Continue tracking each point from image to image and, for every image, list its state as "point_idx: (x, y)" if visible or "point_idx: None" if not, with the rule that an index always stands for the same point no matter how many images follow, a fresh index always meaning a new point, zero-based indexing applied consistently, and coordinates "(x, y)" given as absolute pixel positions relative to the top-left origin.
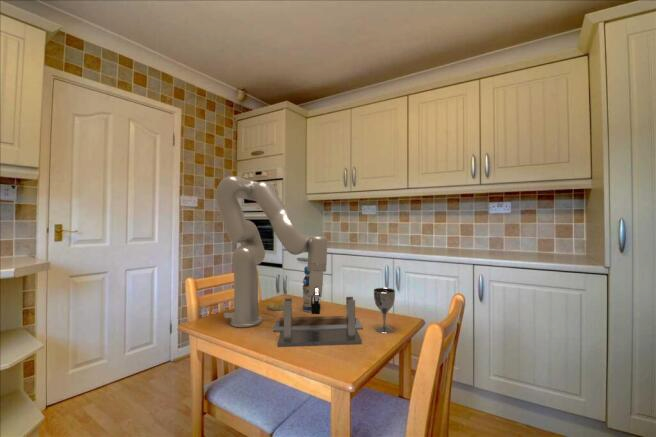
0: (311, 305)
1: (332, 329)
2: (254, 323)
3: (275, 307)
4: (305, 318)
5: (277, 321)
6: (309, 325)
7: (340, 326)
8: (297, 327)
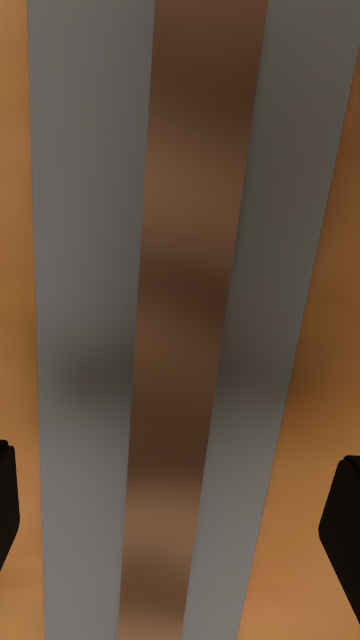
0: (349, 467)
1: (44, 498)
2: None
3: None
4: (168, 326)
5: None
6: None
7: (80, 556)
8: (94, 223)
